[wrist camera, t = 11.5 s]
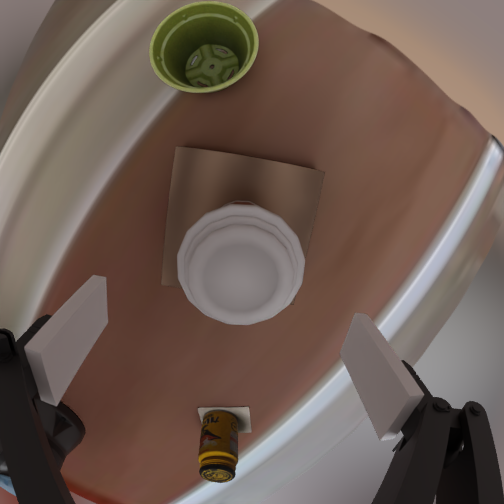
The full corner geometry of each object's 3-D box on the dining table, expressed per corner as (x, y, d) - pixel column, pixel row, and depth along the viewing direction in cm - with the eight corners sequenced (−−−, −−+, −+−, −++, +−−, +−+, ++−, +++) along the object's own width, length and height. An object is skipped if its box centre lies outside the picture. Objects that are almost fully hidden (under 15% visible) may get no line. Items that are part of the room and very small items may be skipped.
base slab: (168, 271, 36) (161, 284, 32) (183, 146, 31) (176, 146, 28) (288, 289, 37) (293, 304, 34) (315, 169, 33) (325, 171, 29)
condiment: (197, 407, 44) (189, 465, 33) (248, 405, 44) (251, 465, 33) (204, 431, 47) (199, 485, 35) (251, 430, 47) (254, 485, 35)
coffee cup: (296, 199, 30) (329, 230, 18) (271, 281, 33) (286, 348, 21) (207, 177, 29) (184, 195, 17) (188, 262, 32) (163, 322, 20)
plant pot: (232, 119, 31) (228, 109, 22) (157, 90, 29) (131, 73, 21) (268, 51, 28) (276, 21, 20) (193, 24, 27) (180, -10, 18)
